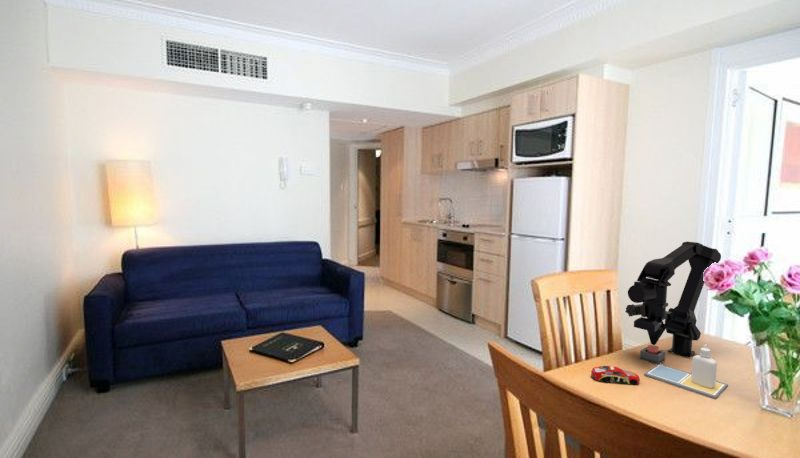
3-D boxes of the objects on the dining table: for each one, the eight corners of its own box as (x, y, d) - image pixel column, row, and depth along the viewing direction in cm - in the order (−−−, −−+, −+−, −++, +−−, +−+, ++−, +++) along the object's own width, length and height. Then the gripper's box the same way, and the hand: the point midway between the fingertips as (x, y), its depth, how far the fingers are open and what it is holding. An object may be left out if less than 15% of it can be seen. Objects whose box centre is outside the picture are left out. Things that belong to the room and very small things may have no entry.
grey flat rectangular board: (658, 365, 130) (658, 363, 130) (727, 386, 116) (728, 384, 116) (643, 375, 123) (643, 373, 123) (715, 399, 109) (715, 396, 109)
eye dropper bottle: (703, 379, 119) (706, 341, 117) (717, 389, 113) (720, 348, 112) (688, 379, 119) (691, 340, 118) (701, 388, 113) (704, 348, 112)
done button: (649, 349, 136) (649, 344, 136) (659, 352, 134) (660, 347, 134) (645, 352, 134) (645, 346, 134) (656, 355, 132) (656, 349, 132)
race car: (635, 378, 121) (636, 366, 121) (642, 387, 116) (643, 374, 116) (589, 374, 124) (590, 362, 124) (594, 382, 119) (594, 369, 119)
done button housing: (646, 355, 138) (646, 346, 138) (664, 360, 134) (665, 351, 134) (639, 359, 135) (640, 350, 135) (658, 364, 130) (658, 356, 130)
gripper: (641, 290, 145) (638, 331, 146) (618, 299, 133) (616, 343, 135) (676, 296, 136) (673, 340, 137) (655, 306, 124) (652, 354, 126)
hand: (653, 344), depth 134 cm, fingers closed
